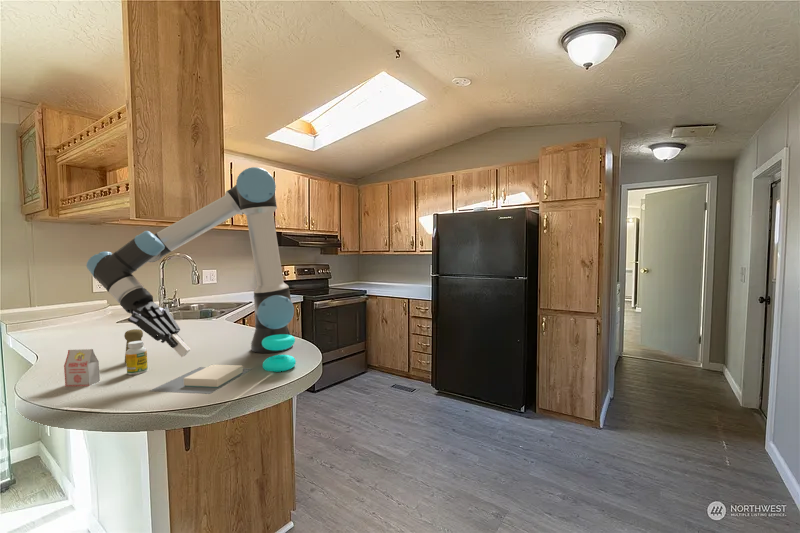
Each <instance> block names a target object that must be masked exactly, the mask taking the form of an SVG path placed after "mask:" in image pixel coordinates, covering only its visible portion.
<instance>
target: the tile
mask: <svg viewBox="0 0 800 533" xmlns="http://www.w3.org/2000/svg"><path fill="white" fill-rule="evenodd" d="M243 369H244V368H243V365H240V364H239V365H238V364H237V365H236V364H235V365H234V364H233V365H232V364H211V365H209V366H206V368H204V369H202V370H200V371H198V372H196V373H194V374H192V375H189V376H187V377H185V378H184V385H185V386H190V387H214V388H218V387H219V386H221V385H223V384H224V383H226V382H228V381H230V380H231V379H233V378H235V377H236V376H238V375H240V374H242V372H243Z"/></svg>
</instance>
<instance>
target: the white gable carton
mask: <svg viewBox="0 0 800 533" xmlns="http://www.w3.org/2000/svg"><path fill="white" fill-rule="evenodd" d="M99 362H100V361H99V359H98V358H97V356H96V355H95V352H94V349H92V348H91V349H89V348H88V349H87V348H86V349H84V348H83V349H68V350H67V356H66V358H65V362H64V365H63V368H64V369H63V371H64V373H63V374H64V386H65V387H90V386H92V384H93V385H95V384H97V383H99V381H101V378H100V363H99ZM94 383H95V384H94Z"/></svg>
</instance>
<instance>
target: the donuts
mask: <svg viewBox="0 0 800 533" xmlns="http://www.w3.org/2000/svg"><path fill="white" fill-rule="evenodd" d="M295 342H296V338H295V337H294V336H293V335H292V334H291V335H288V334H278V335H271V336H268V337H265V338H264V339H263V340H262V346H263V347H264V348H265V349H268V350H284V349H287V348H289V347H291V346H292V345H293V346H294V345H295ZM287 350H288V349H287ZM284 351H285V350H284ZM296 362H297V360H296V358H295V357H294V356H292V355H289V354H275V355H271V356H269V357H267V358H266V359H264V360H263V362H262V369H263V370H264V371H266V372H273V373H281V371H282V372H286V371H289V370H291V369H292V368H294V367H295V366H296Z"/></svg>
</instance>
